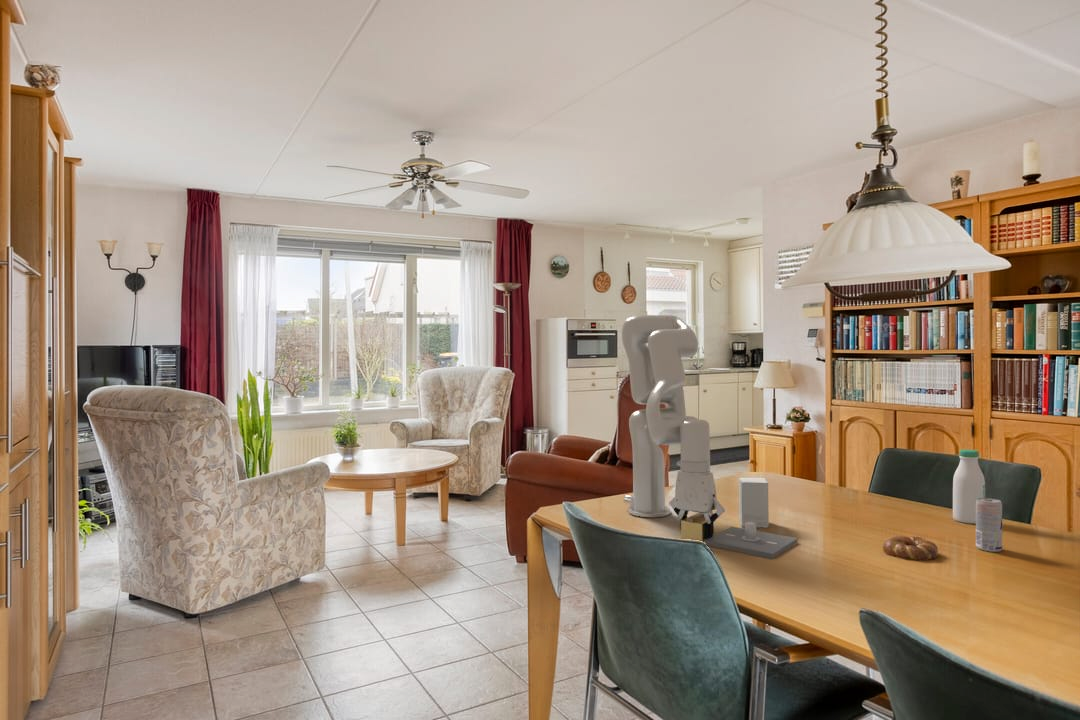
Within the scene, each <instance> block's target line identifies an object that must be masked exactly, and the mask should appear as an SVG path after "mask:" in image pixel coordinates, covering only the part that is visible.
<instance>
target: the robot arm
mask: <svg viewBox="0 0 1080 720" xmlns="http://www.w3.org/2000/svg"><path fill="white" fill-rule="evenodd" d="M621 341H622V344H623V348H624V351H625V354H626V358H627V359H628V360H627V361H628V370H629V371H628V372H629V381H630V392H631V398H632V399H633V402H635V403H636V404H638V405H646V407H645V408H644V409H643V408H642V409H639V410H635V411H634V412H632V413H631V415H630V416H629V419H628V427H629V429H628V430H629V434H630V438H631V446H632V447H631V448H632V484H633V486H632V493H633V494H632V495H629V494H628V495H627V494H626V495H625V496H624V498H623V503H626V504H629V505H630V506H629V507H628V508H627V509H628V513H629V514H630V515H632V516H635V517H639V516H640V517H641V518H660V517H666V516H668V515H670V514H671V508H672V509H673V512H674V513H675V514H676V516H677V518H678V519H679V520H680V521H679V522H680V523H679V528H680V530H681V520H683V519H685V518H688V517H689V516H688V515H689V512H694V513H703V514H704V516H705V519H706V523H705V538H706V539H708V538H711V537H712V536H713V535H715V534H714V533H715V530H714V527H715V526H714V523H715V522H716V521H717V519H719V517H720V516H721V515H723V513H724V512H725V511H726V509H725V508H724V506H723V505H722V504H721V503H720V502H719V500H717V487H716V483H715V478H714V477H715V476H714V475H713V472H711V444H710V441H711V439H710V435H711V434H710V424H709V422H708V421H707V420H705V419H699V418H697V417H695V416H692V415H687V414H686V413H687V412H686V404H685V403H686V401H685V393H684V392H685V391H684V386H683V385H684V383H685V382H686V379H687V377H686V376H687V375H686V374H685V373H686V372H685V368H684V365H683V358H686V359H687V358H693V357H695V356H696V355H697V354H698V350H699V342H698V338H697V335H696V333H695V331H693V329H692V328H691V327H690V326H689V325H688V323H685V321H683V319H681V318H680V317H678V316H676V315H672V314H658V315H657V314H655V315H654V314H653V315H652V314H643V315H634V316H631V317H628V318H627V319H625V320H624V322H623V324H622V328H621ZM661 405H664V406H665V407H662V408H661ZM669 445H670V446H672V445H673V446H674V445H680V460H677V461H676V466H678V467H679V468H680V470H678V471H677V474H676V480H675V487H674V488H675V489H674V491H675V492H674V497H673V498H672V499H671V500H670V501H669V502H668V504H669V506H670V507H671V508H670V507H668V506H667V505H666V491H665V490H666V488H665V487H666V485H665V484H666V483H665V482H666V481H665V478H666V477H665V475H666V474H665V471H666V470H665V453H664V451H663V449H662V448H661V447H660V446H669ZM714 510H716V511H715V512H714Z"/></svg>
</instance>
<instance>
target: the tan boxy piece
mask: <svg viewBox="0 0 1080 720" xmlns="http://www.w3.org/2000/svg"><path fill="white" fill-rule="evenodd" d="M687 517H688V518H685V519H683V520H681V529H680V537H681V539H691V540H699V541H703V542H704V540H705V539H706V538H705V523H706V519H705V516H704V514H703V513H699V512H696V513H695V514H693V515H689V516H687ZM681 539H680V540H681Z"/></svg>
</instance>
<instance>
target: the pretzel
mask: <svg viewBox="0 0 1080 720" xmlns="http://www.w3.org/2000/svg"><path fill="white" fill-rule="evenodd" d="M882 551H883V553H884V554H886V555H888V554H889V555H888V556H891V555H892V556H891V557H896V556H898V558H900V557H901V558H900V559H903V558H906V559H905V560H916V561H920V560H921V561H927V560H933V559H935V558H937V556H938V554H939V548H938V546H937V545H936V544H935V542H933V541H931V540H926V539H925V538H923V537H919V536H910V537H909V536H902V535H900V536H899V535H898V536H893V537H891V538H889V539H887V540H885V542H884V543H883V546H882Z"/></svg>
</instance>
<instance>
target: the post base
mask: <svg viewBox="0 0 1080 720" xmlns="http://www.w3.org/2000/svg"><path fill="white" fill-rule="evenodd" d="M798 540H799V539H798V537H793V536H787V535H782V534H776V533H771V532H766V531H760V530H757V527H756V523H753V522H746V523H745V527H739V526H738V527H737V526H732V525H731V526H728V527H727V528H725V529H723V530H721V531H719V532H717V533H715V534H713V536H712V537H711V538H708V539H705V540H704V542H705V543H706V544H707V545H708V546H709V547H713V548H717V549H724V550H726V551H727V550H728V551H733V552H737V553H742V554H748V555H751V556H756V557H757V556H758V557H760V558H761V557H762V558H765V559H772V560H773V559H775V558H777V557H778V556H779V555H781V554H783V553H785V552H786V551H787V550H789V549H790V548H792V547H793V545H794V546H796V545H797V544H798ZM796 543H797V544H796ZM707 545H706V546H707Z"/></svg>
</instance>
